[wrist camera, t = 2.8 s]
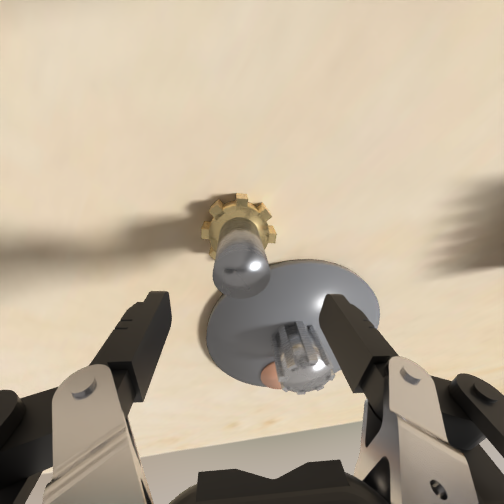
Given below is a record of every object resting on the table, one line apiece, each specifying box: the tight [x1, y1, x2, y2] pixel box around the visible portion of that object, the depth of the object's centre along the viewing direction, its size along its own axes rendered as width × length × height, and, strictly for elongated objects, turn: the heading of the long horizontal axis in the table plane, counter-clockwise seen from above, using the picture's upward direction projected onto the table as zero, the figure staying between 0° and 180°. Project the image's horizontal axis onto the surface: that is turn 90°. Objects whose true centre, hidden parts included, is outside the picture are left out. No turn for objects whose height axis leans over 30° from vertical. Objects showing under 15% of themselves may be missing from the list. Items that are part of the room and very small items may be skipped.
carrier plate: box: [206, 259, 380, 394], centre depth 23 cm, size 22×22×6 cm
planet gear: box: [201, 193, 277, 299], centre depth 15 cm, size 6×6×8 cm
